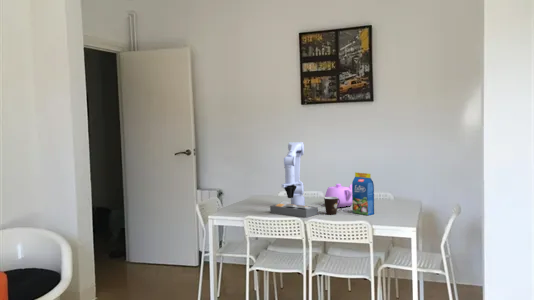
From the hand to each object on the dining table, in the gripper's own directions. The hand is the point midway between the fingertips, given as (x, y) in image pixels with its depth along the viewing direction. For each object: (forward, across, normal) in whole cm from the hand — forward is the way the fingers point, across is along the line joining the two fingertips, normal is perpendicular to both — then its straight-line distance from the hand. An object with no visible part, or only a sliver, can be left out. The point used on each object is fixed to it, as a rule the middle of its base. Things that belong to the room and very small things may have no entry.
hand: (290, 197), depth 293 cm
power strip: (+10, +3, 0) cm, 11 cm away
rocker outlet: (+6, +3, -9) cm, 11 cm away
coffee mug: (+11, +16, -21) cm, 28 cm away
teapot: (+11, +41, -10) cm, 43 cm away
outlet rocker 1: (+6, +3, +9) cm, 11 cm away
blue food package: (+11, +26, -36) cm, 46 cm away
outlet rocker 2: (+6, +3, 0) cm, 6 cm away
